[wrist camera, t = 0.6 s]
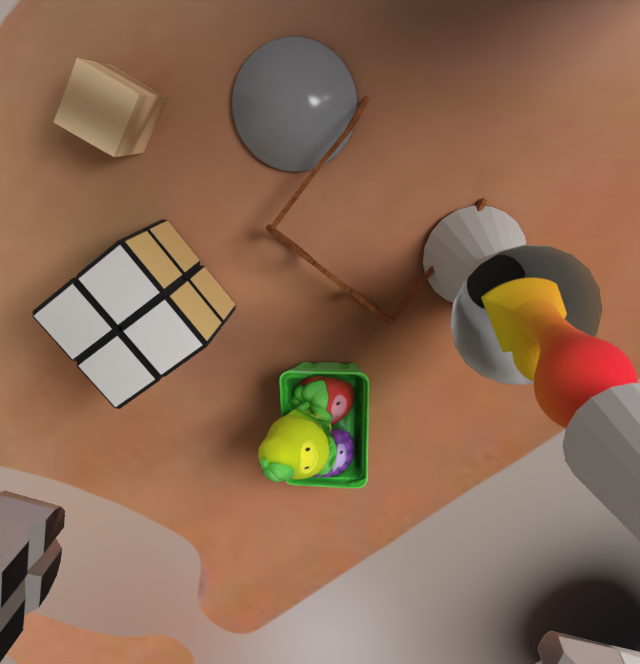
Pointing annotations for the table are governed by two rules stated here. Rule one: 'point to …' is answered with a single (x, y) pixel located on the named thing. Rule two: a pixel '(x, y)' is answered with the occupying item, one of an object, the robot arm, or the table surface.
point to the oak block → (109, 108)
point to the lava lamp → (543, 344)
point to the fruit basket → (320, 427)
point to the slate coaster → (293, 103)
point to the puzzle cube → (136, 312)
